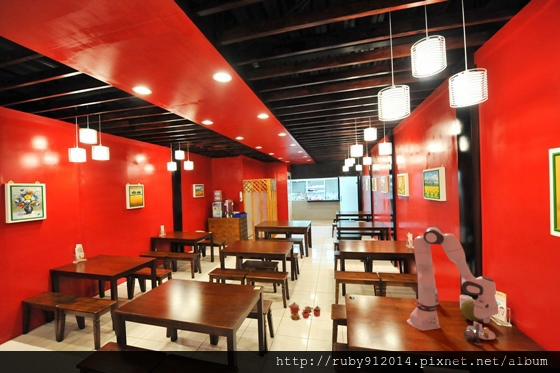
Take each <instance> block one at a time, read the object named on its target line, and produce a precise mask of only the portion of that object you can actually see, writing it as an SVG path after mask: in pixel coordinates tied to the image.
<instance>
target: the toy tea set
mask: <svg viewBox="0 0 560 373" xmlns="http://www.w3.org/2000/svg"><path fill="white" fill-rule="evenodd" d="M299 307H300V305H299V304H297V303H296V302H295V301H294V302H293V303H291V304H290V305H288V308H289V309H290V310H289V311H290V314H291V315H290V319H291V320H292V321H295V322H297V321H300V320H301V319H302V318H301V317H300V315H299V311H300V310H301V308H299ZM321 309H322V308H321V307H320V306H318V305H316V307H311V306H309V305H308V306H307V305H306V306H305V307H304V309H302V312H301V315H302V317H303V319H306V320H307V319H310V317H311V316H312V314H311V313H312V312H313V316H314V317H316V318H319V317H320V316H321V311H322V310H321Z"/></svg>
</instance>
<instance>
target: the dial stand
mask: <svg viewBox="0 0 560 373" xmlns="http://www.w3.org/2000/svg"><path fill="white" fill-rule="evenodd" d="M473 326H474V329H476V339H475V341H473V344H474V345H476V346H478V347H481V346H483V345H482V342H481V341H480V339H479V331H481V332H482V327H483V324H482V323H479V322H478V321H473Z"/></svg>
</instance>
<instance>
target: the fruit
mask: <svg viewBox="0 0 560 373" xmlns="http://www.w3.org/2000/svg"><path fill="white" fill-rule="evenodd" d="M474 306H475V305H474V301H470V300H469V301H465V302H464V303H462V304H461V308H460V312H461V313H462V315H463V316H464V317H465V318H466V319H467V320H469V321H471V322H474V321H475V322H478V321H483V319H478V318H476V317H475V316H474Z"/></svg>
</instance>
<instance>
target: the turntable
mask: <svg viewBox="0 0 560 373" xmlns="http://www.w3.org/2000/svg"><path fill="white" fill-rule="evenodd" d="M467 329H471V330H473V331H475V332H476V329H474V325H468V326H467V327H466V330H467ZM479 340H484V341H493V340H496V334H495V333H494V332H493V331H492V330H490V329H489V327H487V326H484V327H483V326H482V332H481V331H479Z"/></svg>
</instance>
